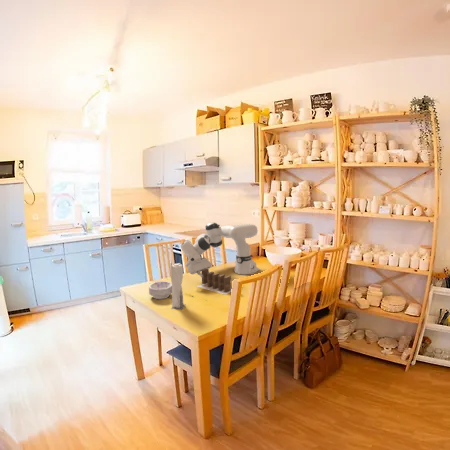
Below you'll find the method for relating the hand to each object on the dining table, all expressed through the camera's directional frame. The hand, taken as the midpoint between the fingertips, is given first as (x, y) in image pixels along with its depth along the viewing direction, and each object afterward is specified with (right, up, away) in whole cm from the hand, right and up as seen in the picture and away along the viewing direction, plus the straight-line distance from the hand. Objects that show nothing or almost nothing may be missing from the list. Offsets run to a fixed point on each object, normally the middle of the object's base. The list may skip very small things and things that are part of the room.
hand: (205, 275), depth 223 cm
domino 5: (+15, -9, -11) cm, 21 cm away
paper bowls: (-28, -11, -17) cm, 35 cm away
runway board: (+7, -9, -5) cm, 12 cm away
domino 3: (+7, -8, -5) cm, 12 cm away
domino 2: (+3, -7, -2) cm, 8 cm away
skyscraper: (-15, -14, -32) cm, 38 cm away
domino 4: (+11, -8, -8) cm, 16 cm away
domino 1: (-1, -6, +1) cm, 6 cm away
